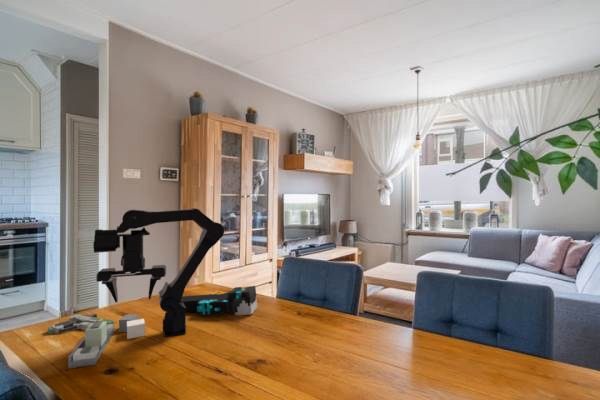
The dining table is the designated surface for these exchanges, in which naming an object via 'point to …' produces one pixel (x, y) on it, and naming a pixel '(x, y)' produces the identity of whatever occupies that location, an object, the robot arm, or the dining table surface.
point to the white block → (124, 321)
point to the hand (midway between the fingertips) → (133, 300)
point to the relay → (135, 328)
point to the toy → (223, 302)
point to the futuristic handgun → (76, 323)
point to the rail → (88, 352)
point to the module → (96, 334)
